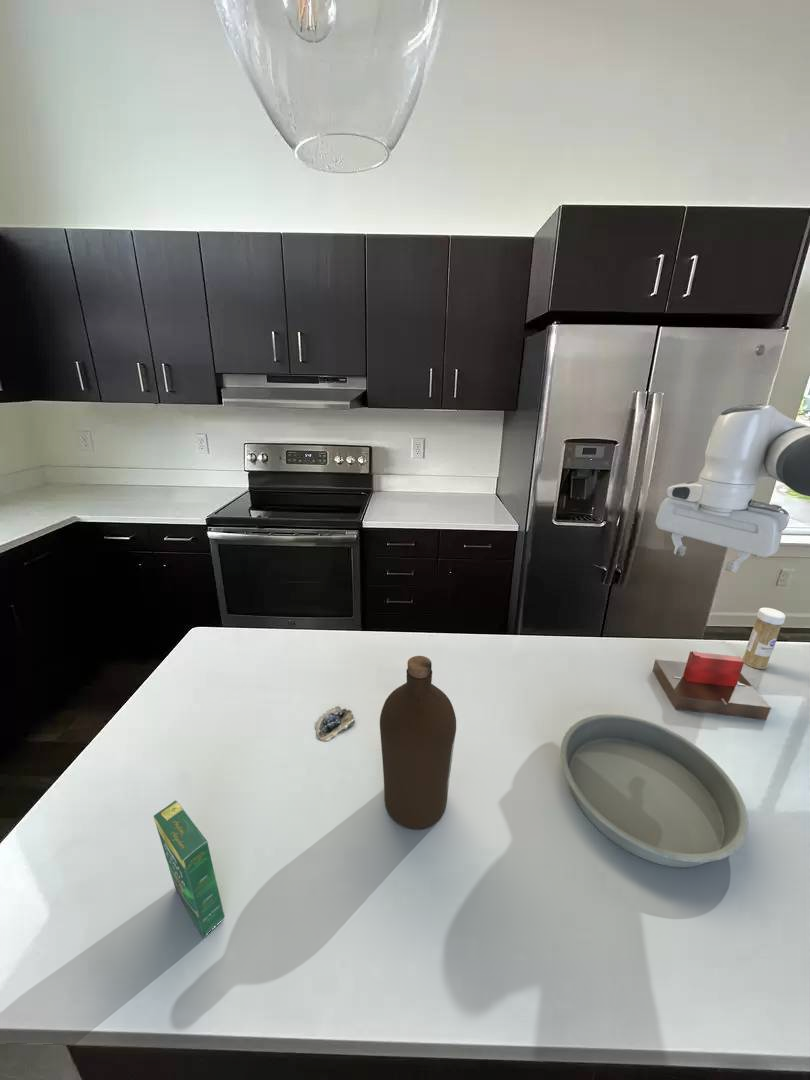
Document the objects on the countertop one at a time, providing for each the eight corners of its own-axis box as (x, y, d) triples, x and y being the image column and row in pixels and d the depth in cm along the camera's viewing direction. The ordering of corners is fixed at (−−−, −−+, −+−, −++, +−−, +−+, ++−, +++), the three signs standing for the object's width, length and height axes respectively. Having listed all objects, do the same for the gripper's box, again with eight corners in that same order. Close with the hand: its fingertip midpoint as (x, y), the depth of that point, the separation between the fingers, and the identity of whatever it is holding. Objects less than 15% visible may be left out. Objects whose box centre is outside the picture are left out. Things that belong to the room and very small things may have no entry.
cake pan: (525, 785, 67) (529, 763, 65) (601, 712, 82) (605, 693, 80) (704, 931, 49) (715, 906, 48) (759, 805, 64) (769, 783, 63)
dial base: (730, 677, 92) (734, 665, 91) (768, 722, 80) (773, 709, 79) (651, 668, 95) (654, 657, 94) (676, 711, 82) (680, 698, 81)
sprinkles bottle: (761, 672, 94) (781, 619, 89) (738, 661, 98) (755, 609, 93) (770, 665, 96) (790, 613, 91) (747, 655, 100) (764, 604, 95)
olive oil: (388, 843, 58) (388, 696, 50) (374, 777, 68) (372, 644, 59) (461, 824, 61) (473, 682, 52) (437, 764, 71) (444, 635, 62)
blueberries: (361, 716, 80) (360, 708, 80) (337, 747, 73) (337, 739, 73) (331, 705, 83) (330, 698, 82) (305, 734, 76) (304, 726, 75)
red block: (730, 681, 86) (739, 655, 84) (735, 687, 85) (744, 660, 83) (682, 675, 88) (690, 650, 86) (686, 681, 86) (694, 655, 84)
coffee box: (172, 888, 53) (150, 813, 48) (195, 869, 55) (177, 796, 50) (202, 941, 48) (181, 863, 43) (226, 918, 50) (209, 842, 45)
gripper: (799, 505, 73) (774, 577, 78) (675, 482, 89) (660, 543, 94) (786, 510, 70) (760, 586, 75) (659, 486, 86) (645, 549, 91)
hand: (703, 562), depth 85 cm, fingers open, 8 cm apart
